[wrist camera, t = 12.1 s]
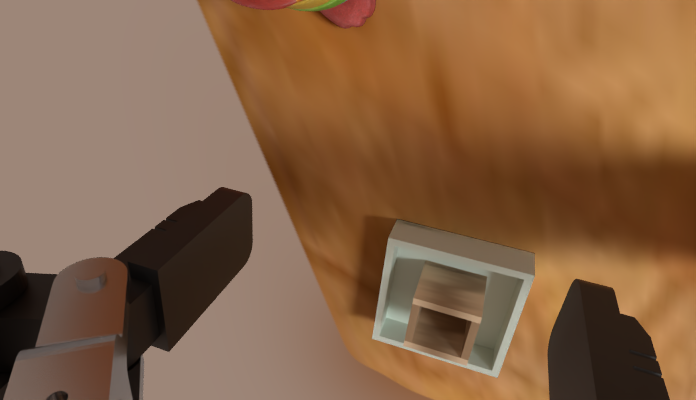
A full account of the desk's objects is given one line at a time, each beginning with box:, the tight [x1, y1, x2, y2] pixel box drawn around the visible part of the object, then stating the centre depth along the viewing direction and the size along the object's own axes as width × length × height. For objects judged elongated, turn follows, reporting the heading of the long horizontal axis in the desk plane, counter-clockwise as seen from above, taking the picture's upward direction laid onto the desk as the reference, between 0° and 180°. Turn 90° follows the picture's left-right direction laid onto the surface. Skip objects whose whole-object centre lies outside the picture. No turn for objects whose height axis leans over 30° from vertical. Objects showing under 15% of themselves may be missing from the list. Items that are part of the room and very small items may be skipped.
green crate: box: [372, 219, 535, 378], centre depth 47 cm, size 13×13×4 cm
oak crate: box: [403, 260, 487, 366], centre depth 45 cm, size 6×6×6 cm
